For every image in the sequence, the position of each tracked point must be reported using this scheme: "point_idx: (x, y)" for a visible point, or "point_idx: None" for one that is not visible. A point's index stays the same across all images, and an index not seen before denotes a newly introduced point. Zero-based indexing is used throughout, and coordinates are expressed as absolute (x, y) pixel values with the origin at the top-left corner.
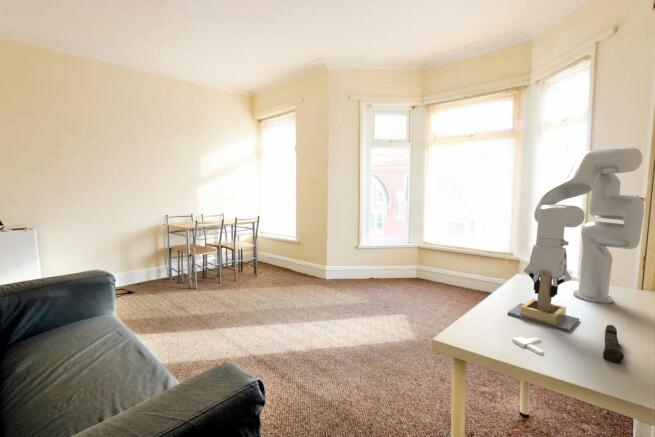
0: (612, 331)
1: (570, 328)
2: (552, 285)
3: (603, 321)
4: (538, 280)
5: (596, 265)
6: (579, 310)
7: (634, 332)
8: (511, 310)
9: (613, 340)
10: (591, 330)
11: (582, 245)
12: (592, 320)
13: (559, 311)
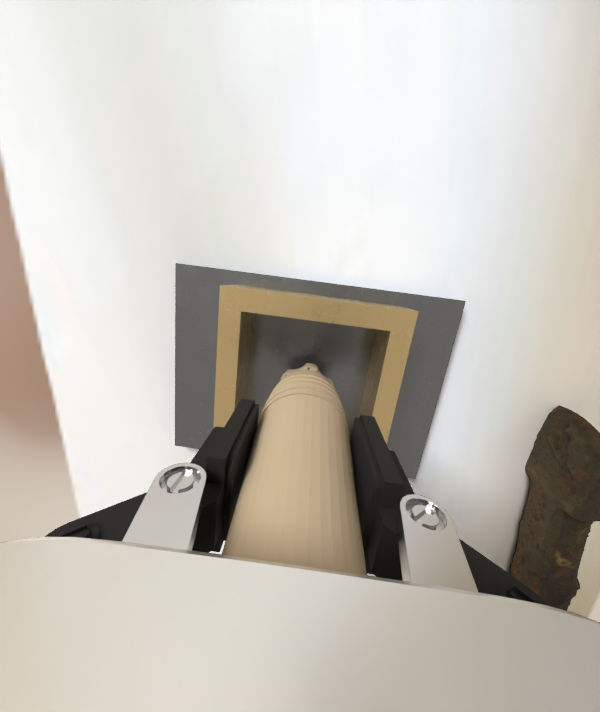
0: (592, 520)
1: (419, 462)
2: (368, 552)
3: (580, 197)
4: (213, 536)
5: None
6: (476, 66)
7: None
8: (180, 416)
9: (566, 573)
10: (496, 383)
11: None
12: (523, 227)
13: (385, 416)
